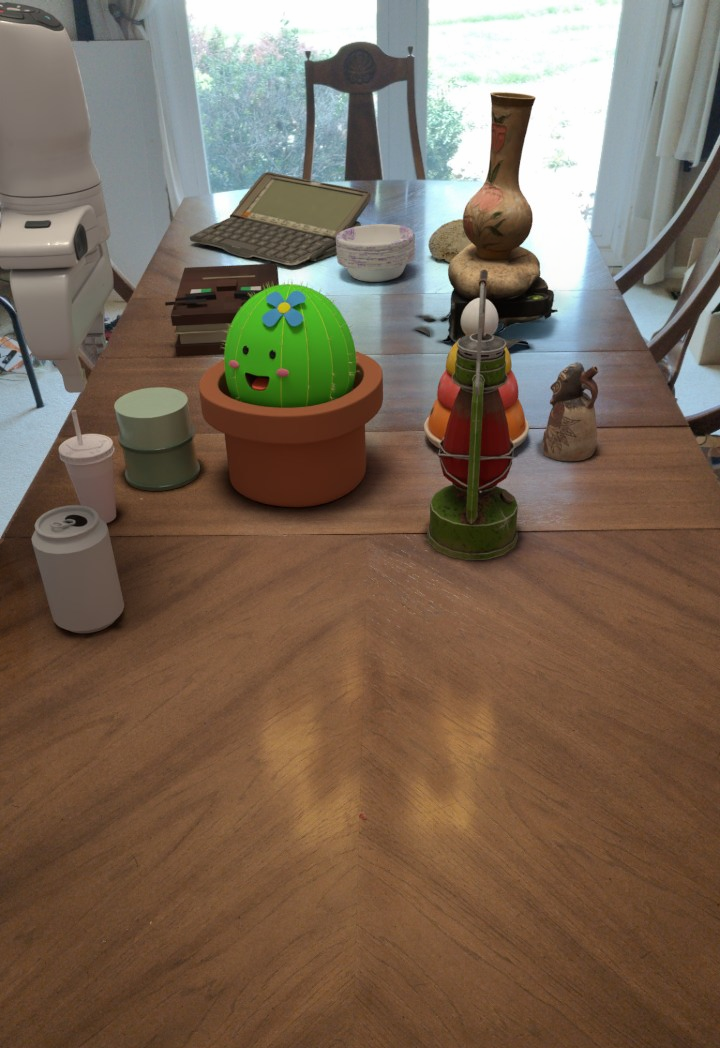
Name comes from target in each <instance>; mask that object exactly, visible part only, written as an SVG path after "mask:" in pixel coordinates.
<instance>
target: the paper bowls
mask: <svg viewBox="0 0 720 1048" xmlns="http://www.w3.org/2000/svg"><path fill="white" fill-rule="evenodd" d="M415 243H416V234H415V231H414V230H413V229H412V228H410V227H408V226H404V225H399V224H389V223H372V224H364V225H361V226H357V227H352V228H349V229H346V230H344V231H341V232H340V233H339V234H337V236H336V250H337V251H336V252H337V254H336V261H337V263H338V264H339V266H342V267H344V268H346V270H347V272H348V274H349V275H350V276H351V277H352V278H354V279H355V280H358V281H362V282H370V283H378V282H387V281H391V280H395V279H397V278H399V277H400V276H401V275H402V274H403V273H404V270H405V268H406V265H409V264H410V263H412V262H413V261H414V260H415V258H416V257H415V255H416V245H415Z"/></svg>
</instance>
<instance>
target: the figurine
mask: <svg viewBox="0 0 720 1048" xmlns="http://www.w3.org/2000/svg"><path fill="white" fill-rule="evenodd" d="M598 373H599V368H598V367H597V366H596V365H593V366H591V367H590V368H588V369H587V370H586V371H585V367H584V364H582V363H581V362H578V361H576V362H573V363H570V364H569V365H568V366H566V367H565V368H563V369H562V370H561V371H560V372H559V374H558V375H557V379H556V380H555V381H554V382H553V383H552V384H551V386H550V390H551V391H552V396H551V399H550V401H549V404H550V405H551V406H552V408H551V409H550V412H549V415H548V420H547V424H546V427H545V430H544V432H543V437H542V444H541V449H542V452H543V453H542V454H543V455H544V456H545V457H547V458H549V459H552V460H555V461H559V462H578V461H579V462H580V461H584V460H587V459H590V458H591V457H592V456H593V455H594V453H595V451H596V448H597V443H598V424H597V417H596V416H597V415H596V408H595V403H596V400H597V399H598V394H599V386H598V384H597V382H596V381H595V379H594V377H595V376H596V375H597V374H598ZM585 390H588V391H589V392H590V395H591V396H590V395H589V394H588V393H586V392H585Z"/></svg>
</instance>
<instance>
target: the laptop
mask: <svg viewBox="0 0 720 1048" xmlns="http://www.w3.org/2000/svg"><path fill="white" fill-rule="evenodd" d="M371 200H372V194H371V191H370V190H366V189H359V188H355V187H349V186H343V185H338V184H332V183H327V182H321V181H315V180H310V179H306V178H305V179H304V178H300V177H296V176H290V175H286V174H281V173H276V172H271V171H265V172H264V173H262V174H261V175H260V176H259V177H258V178H257V180H256V181H255V182H254V183H253V184H252V185H251V187H250V188H249V190H248V191H247V192H246V193H245V194H244V195H243V197H242V198H241V199H240V201H238V202H239V203H238V204H237V206H236V208H234V210H233V211H232V213H230V215H229V217H227V218H225V219H223V220H222V221H219V222H216V223H213V224H211V225H210V226H207V227H205V228H203V229H202V230H200V231H198V232H196V233H194V234H192V235H190V236H189V240H190V242H193V243H197V244H201V245H207V246H211V247H216V248H219V249H223V250H224V251H226V252H227V253H229V254H231V255H235V256H237V257H242V258H245V259H246V258H247V259H249V258H252V257H255V258H259V259H263V260H266V261H272V262H275V263H278V264H283V265H285V266H296V265H299V264H301V263H305V262H306V261H309V262H310V261H311V262H316V261H319V260H323V259H325V258H328V257H331V256H335V255H337V252H336V251H337V250H336V236H337V234H339V233H340V232H341V231H344V230H346V229H349V228H352V227H357V226H362V223H361V221H358V219H359V218H360V217H361V215H362V214H363V212H364V211H365V209H367V206H368V205H369V203H370V202H371Z"/></svg>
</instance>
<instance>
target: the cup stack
mask: <svg viewBox="0 0 720 1048" xmlns="http://www.w3.org/2000/svg"><path fill="white" fill-rule="evenodd" d="M113 408H114V409H113V410H114V414H115V419H116V425H117V430H118V435H117V442H118V444H119V446H120V447H121V449H122V455H123V458H124V459H123V460H124V465H125V471H124V477H125V481H126V482H127V483H128V485H129V486H131V487H133V488H135V489H137V490H140V491H148V492H164V491H170V490H174V489H178V488H182V487H184V486H186V485H188V484H190V483H192V482H193V481H194V480H196V479H197V478H198V477H199V475H200V473H201V463H200V462H199V460H198V458H197V452H196V445H195V439H194V438H195V436H196V430H195V426H194V425H193V423H192V418H191V411H190V405H189V397H188V395H187V394H186V393H185V392H184V391H182V390H179V389H177V388H171V387H162V386H161V387H159V386H157V387H146V388H140V389H137V390H136V389H135V390H133V391H130V392H128V393H125V394H124V395H122V396H120V397H119V398H118V399H117V400H116V401H115V402H114V405H113Z"/></svg>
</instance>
